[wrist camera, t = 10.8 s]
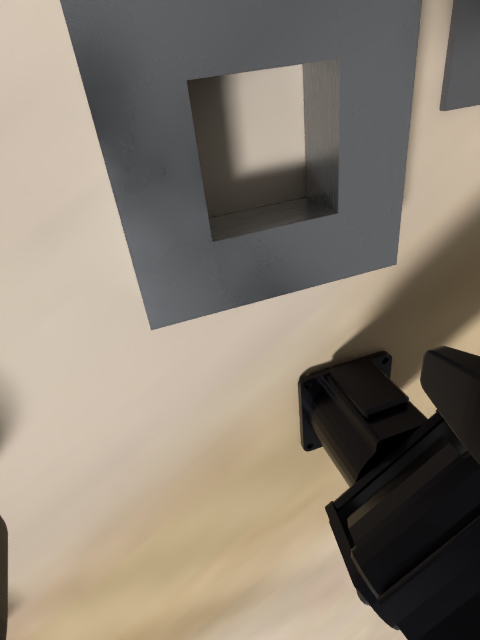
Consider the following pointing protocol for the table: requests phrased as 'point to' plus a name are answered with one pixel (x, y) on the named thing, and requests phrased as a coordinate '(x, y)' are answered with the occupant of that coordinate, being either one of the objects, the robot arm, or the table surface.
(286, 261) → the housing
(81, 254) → the table surface
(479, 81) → the mat
